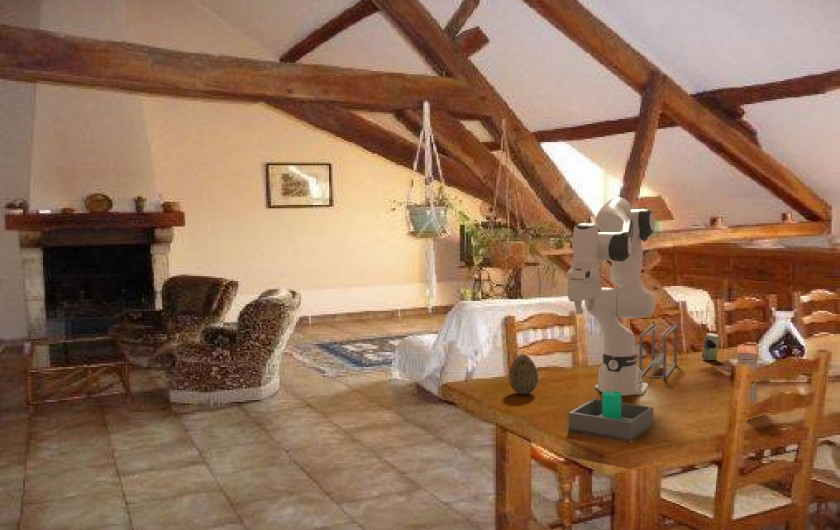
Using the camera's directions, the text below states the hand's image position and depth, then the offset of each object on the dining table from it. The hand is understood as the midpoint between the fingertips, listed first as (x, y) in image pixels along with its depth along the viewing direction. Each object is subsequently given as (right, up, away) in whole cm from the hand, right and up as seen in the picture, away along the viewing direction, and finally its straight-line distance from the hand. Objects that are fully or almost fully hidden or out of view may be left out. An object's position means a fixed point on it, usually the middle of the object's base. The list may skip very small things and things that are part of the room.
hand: (585, 312), depth 261 cm
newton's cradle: (+44, -29, +62) cm, 81 cm away
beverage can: (+73, -27, +81) cm, 112 cm away
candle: (+5, -35, -17) cm, 39 cm away
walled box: (+5, -36, -17) cm, 40 cm away
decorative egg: (-17, -32, +26) cm, 45 cm away
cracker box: (+56, -34, +3) cm, 65 cm away
